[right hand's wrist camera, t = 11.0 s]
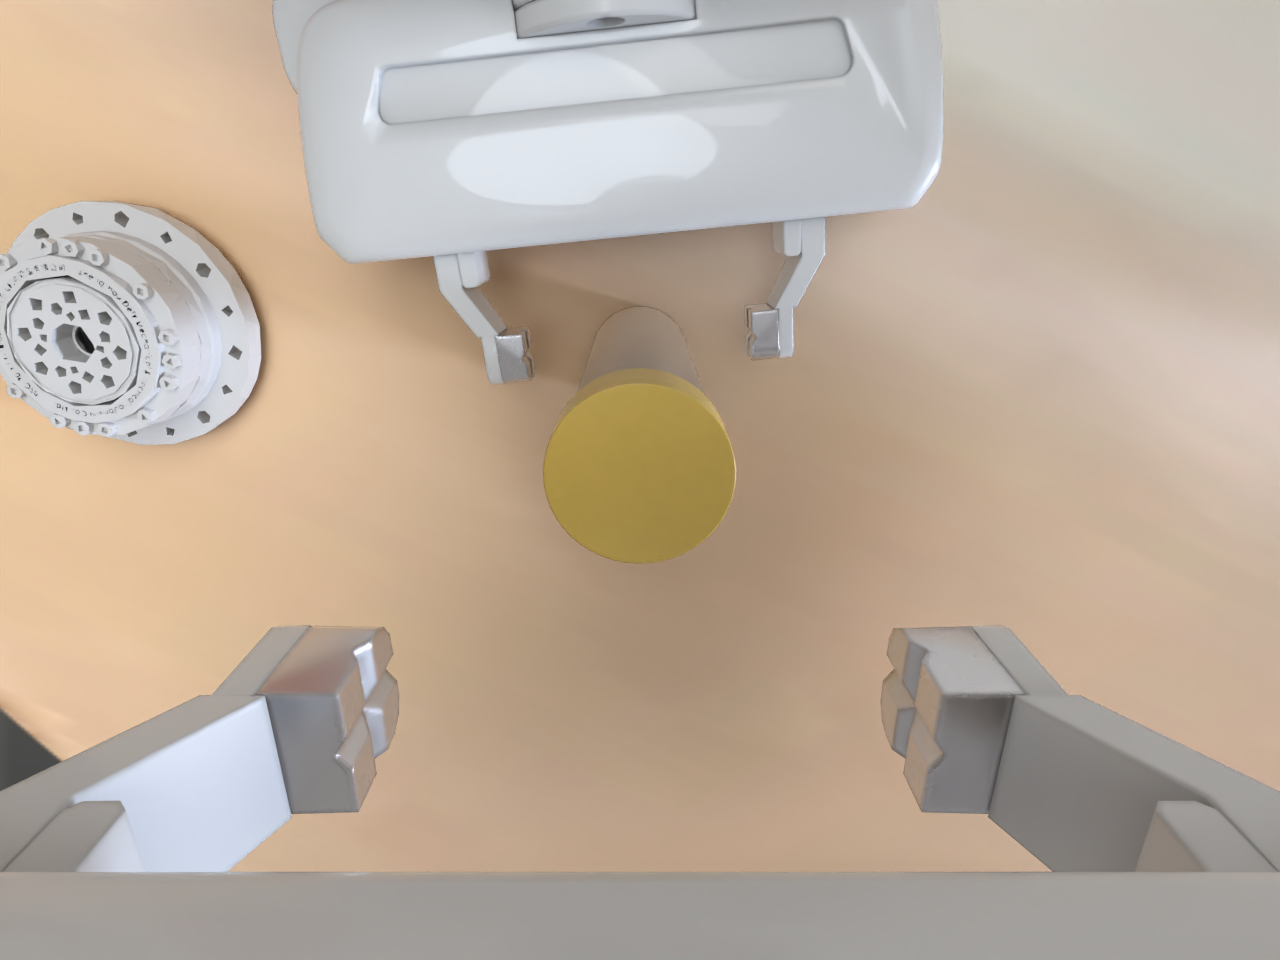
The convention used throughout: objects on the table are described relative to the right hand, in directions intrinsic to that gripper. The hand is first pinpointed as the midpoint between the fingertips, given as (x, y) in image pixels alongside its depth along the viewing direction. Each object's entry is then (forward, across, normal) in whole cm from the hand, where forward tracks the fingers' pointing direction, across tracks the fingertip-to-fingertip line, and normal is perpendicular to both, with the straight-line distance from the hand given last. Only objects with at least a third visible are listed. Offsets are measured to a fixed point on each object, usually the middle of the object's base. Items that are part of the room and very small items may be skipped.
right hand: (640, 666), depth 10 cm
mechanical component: (+23, -21, +1) cm, 31 cm away
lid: (+8, 0, 0) cm, 8 cm away
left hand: (+18, 0, +1) cm, 18 cm away
